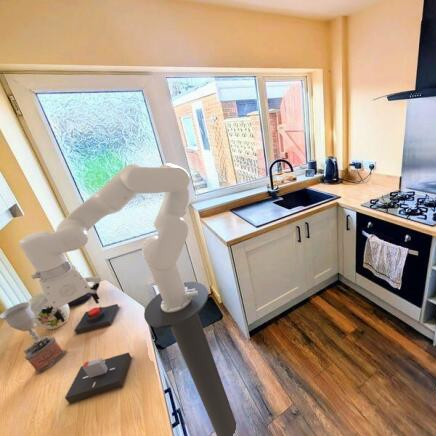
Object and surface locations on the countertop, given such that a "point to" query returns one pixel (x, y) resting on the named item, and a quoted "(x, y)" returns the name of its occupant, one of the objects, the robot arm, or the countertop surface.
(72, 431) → the countertop surface
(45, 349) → the brick-red planter box
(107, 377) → the control panel
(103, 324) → the base
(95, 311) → the power button
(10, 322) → the chalice
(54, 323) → the pitcher
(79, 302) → the storage jar
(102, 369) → the knob
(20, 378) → the countertop surface
